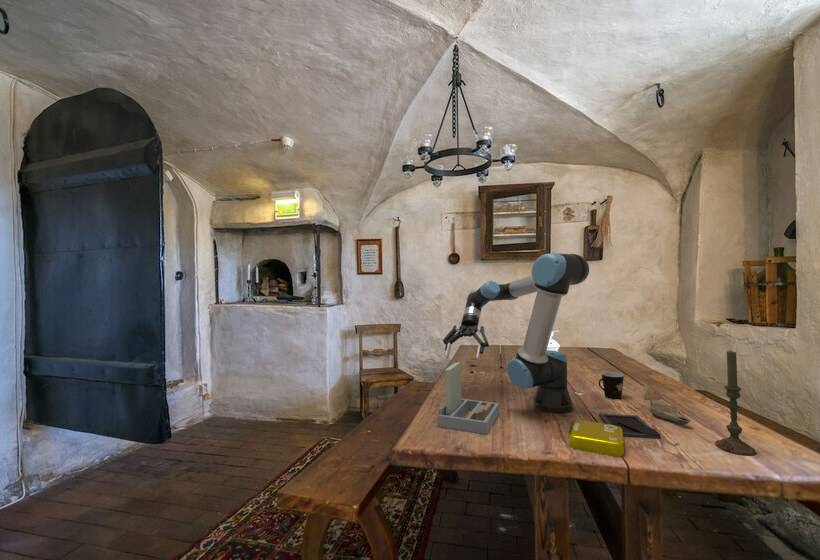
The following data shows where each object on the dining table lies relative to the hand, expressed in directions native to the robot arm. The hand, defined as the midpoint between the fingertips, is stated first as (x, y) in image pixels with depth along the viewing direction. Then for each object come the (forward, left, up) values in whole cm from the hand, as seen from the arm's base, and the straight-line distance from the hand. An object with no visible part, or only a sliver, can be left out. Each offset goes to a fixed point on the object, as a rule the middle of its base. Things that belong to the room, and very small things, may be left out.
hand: (461, 358), depth 148 cm
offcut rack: (-6, +12, -21) cm, 25 cm away
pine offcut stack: (-12, +12, -21) cm, 26 cm away
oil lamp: (-73, -17, -21) cm, 78 cm away
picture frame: (-59, -3, -21) cm, 63 cm away
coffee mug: (-56, -36, -21) cm, 70 cm away
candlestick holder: (-87, +4, -21) cm, 89 cm away
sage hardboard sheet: (0, +12, -21) cm, 24 cm away
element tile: (-49, +15, -21) cm, 55 cm away
